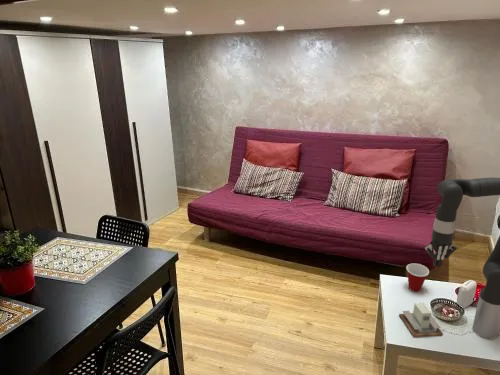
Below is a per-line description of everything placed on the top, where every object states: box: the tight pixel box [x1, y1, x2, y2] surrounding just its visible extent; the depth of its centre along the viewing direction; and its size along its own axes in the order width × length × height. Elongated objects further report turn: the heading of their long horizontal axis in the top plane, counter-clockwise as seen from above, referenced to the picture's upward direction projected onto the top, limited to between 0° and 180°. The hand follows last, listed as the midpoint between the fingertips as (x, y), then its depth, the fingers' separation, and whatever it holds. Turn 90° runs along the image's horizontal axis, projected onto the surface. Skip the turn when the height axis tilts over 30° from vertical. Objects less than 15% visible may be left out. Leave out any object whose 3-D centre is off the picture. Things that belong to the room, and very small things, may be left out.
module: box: [412, 302, 432, 328], centre depth 162 cm, size 4×8×8 cm, turn 3°
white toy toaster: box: [455, 279, 478, 309], centre depth 175 cm, size 10×4×12 cm, turn 123°
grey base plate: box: [402, 310, 442, 333], centre depth 163 cm, size 12×12×2 cm
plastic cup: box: [405, 262, 430, 292], centre depth 188 cm, size 11×11×12 cm
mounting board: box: [398, 312, 444, 338], centre depth 164 cm, size 13×14×1 cm
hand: (437, 266), depth 151 cm, fingers closed
